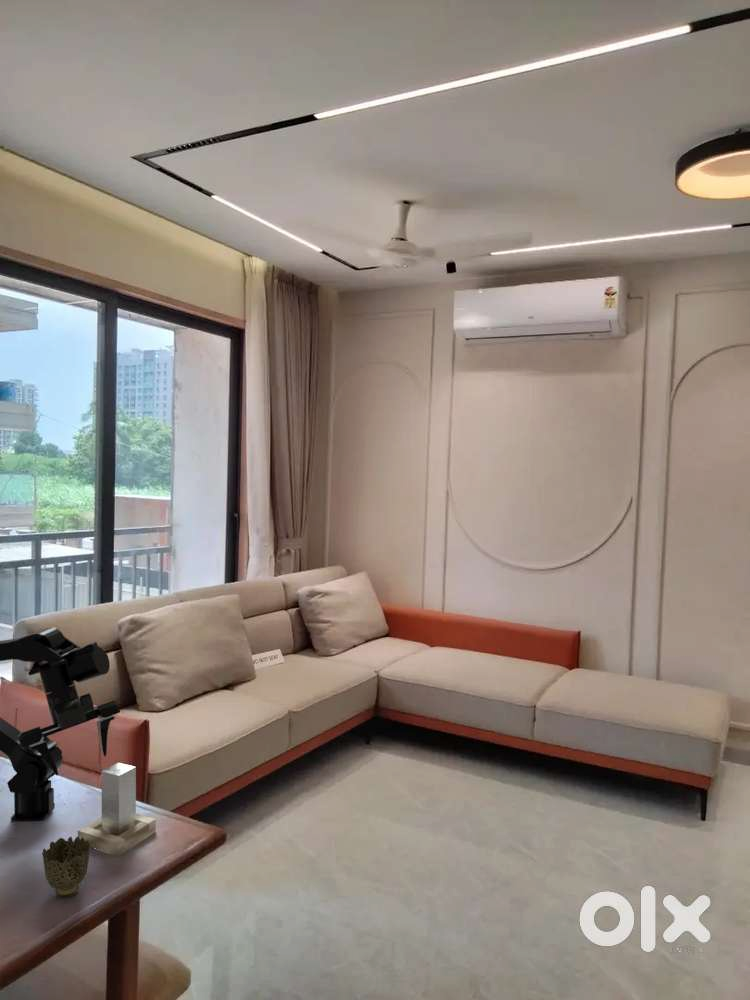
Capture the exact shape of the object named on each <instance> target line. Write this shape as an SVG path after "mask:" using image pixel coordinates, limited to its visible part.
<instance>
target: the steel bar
mask: <svg viewBox="0 0 750 1000" xmlns="http://www.w3.org/2000/svg"><path fill="white" fill-rule="evenodd" d="M100 772H101V817H102V832H105V833H108V834H112V835H115V836H119V835H121V834H122V833H124V832H125V831H127V830H129V829H130V828H132V827H134V826H135V825H136V814H137V810H136V808H137V807H136V806H137V781H136V780H137V774H136V773H137V767H136V766H133V765H131V764H130V765H129V764H125V763H121V762H117V763H115V764H113V765H111V766H108V767H107V768H104V769H103V770H101V771H100Z"/></svg>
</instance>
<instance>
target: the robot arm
mask: <svg viewBox="0 0 750 1000" xmlns="http://www.w3.org/2000/svg"><path fill="white" fill-rule="evenodd" d="M10 660H13V661H14V660H15V661H16V660H17V661H21V662H24V663H33V664H32V667H31V668H30V670H29V671H28V676H33V675H37V674H39V677H40V680H41V682H42V683H41V684H42V687H43V691H44V694H45V697H46V701H47V706H48V708H49V712H50V713H49V714H50V716H51V720H52V723H53V724H51V725H48V726H46V727H42V728H41V727H40V726H39V725H38V726H36V727H33V728H30V729H28V730H24V731H22V732H21V730H19V729H17V727H15V726H13V725H12V724H11V723H9V722H8V721H6V720H5V719H3V718H2V717H1V716H0V752H2V754H4V755H6V756H7V757H8V758H9V761H10V763H11V767H12V768H13V771H14V772H15V774H14V775H13V776H12V777H11V778H10V779H9V781H7V782H6V783H7V787H8V788H9V789H8V790H9V792H10V793H13V794H14V795H13V796H14V797H13V798H14V799H13V800H14V801H13V803H14V806H13V807H14V809H13V810H14V814H13V815H12V816H10V821H43V820H44V819H45V818H46V817H47V816H48V815H49V813H50V812H51V811H52V810H53V809H54V807H55V806H56V805H55V804H56V803H55V796H54V795H55V789H54V787H52V779H51V778H52V777H54V776H58V775H59V771H58V770H59V768H60V767H61V765H62V764H63V751H62V750H61V749H60V747H58V746H57V745H58V744H59V743H58V742H56V741H54V740H51V739H50V738H49V737H48V736H52V735H54V734H57V733H59V732H62V731H64V730H67V729H71V728H73V727H76V726H79V725H82V724H83V723H84V724H85V723H88V722H90V721H93V720H95V719H97V721H96V727H97V733H98V738H99V743H100V744H99V746H100V750H101V752H102V755H103V757H107V747H108V732H109V727H110V724H111V721H113V720H115V719H116V718H115V716H114V715H117V714H120V713H121V709H120V706H119V703H118V701H116V700H115V699H113V700H108V701H106V702H103V703H100V704H98V705H94V701H93V698H92V694H91V693H90V692H89V693H86V694H83V695H80V696H79V694H78V690H77V686H76V683H83V682H86V681H90V680H91V679H96V678H98V677H102V676H104V675H106V674H108V673H109V672H110V671H109V670H110V667H111V666H110V658H109V655H108V653H106V652H105V650H104V649H103V648H102V647H100V646H99V645H98V642H96V641H93V642H90V643H89V644H87V645H85V646H82V647H80V646H79V645H77V644H76V643H74V642H73V641H72V640H70V639H69V638H67V637H66V636H65V635H64V634H63V633H62V631H61V630H59V628H58V627H55V626H51V627H46V628H43V629H41V630H38V631H35V632H32V633H29V634H26V635H23V636H20V637H17V638H10V639H6V640H5V639H4V640H3V639H2V640H0V662H3V661H10ZM63 660H64V661H63ZM75 682H76V683H75ZM50 779H51V780H50Z"/></svg>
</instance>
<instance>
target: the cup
mask: <svg viewBox="0 0 750 1000" xmlns="http://www.w3.org/2000/svg"><path fill="white" fill-rule="evenodd" d="M90 845H91V842H90V843H89V841H88V840H87V841H86V843H85V840H84V838H83V837H82V838H81V840H80V838H79V837H78V836H76V837H75V838H74V840H73V837H72V836H69V837H68V838H67V840H66V839H65V838H63V837H60V838H58V839H57V840H56V841H50V843H49V848H47V849H46V848H42V852H41V855H42V860H43V861H42V862H43V867H44V874H45V878H46V881H47V883H48V884H49V886H50V887H51V888H52V889H55V891H54V892H55V895H56V896H57V897H58V898H61V899H62V898H64V899H65V898H67V899H68V898H70V897H73V896H74V895H76V893H78V891H79V888H80V884H81V883H82V882H83V881H84V879H85V877H86V876H87V872H88V869H89V862H90V861H89V860H90V851H91V848H90Z"/></svg>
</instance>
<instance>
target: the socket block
mask: <svg viewBox="0 0 750 1000" xmlns="http://www.w3.org/2000/svg"><path fill="white" fill-rule="evenodd" d="M156 821H157V820H156V818H154V817H153V818H152V817H149V816H145V815H143V814H140V813H139V814H138V813H136V825H135V826H134V827H132V828H130V829H129V830H127V831H125V832H124V833H122V834H121V835H119V836H115V835H112V834H108V833H105V832H102V816H100V817H99V818H97V819H96V820H94V821H92V822H90V823H89V824H87V825H85V826H84V827H82V828H80V829H78V830H77V837H79V838H80V840H81V838H82V837H83V838H84V840H85V843H86V841H87V840H88V841H89V843H90V842H91V845H90V847H93V848H96V849H99V850H102V851H104V852H103V853H105V852H108V853H110V854H109V855H111V854H113V855H112V856H114V855H115V857H117V856H118V857H119V856H121V855H123V854H124V853H126V852H127V851H128V849H129V850H130V849H132V848H133V847H135V846H137V844H139V843H141V842H142V841H144V840H145V839H147V838H149V837H151V836H152V835H153V834H155V833H156V832H157V831H156V830H157V824H156V823H157V822H156ZM93 848H92V849H93ZM96 849H95V850H96ZM99 850H98V851H99ZM102 851H101V852H102ZM125 851H126V852H125ZM108 853H107V854H108ZM120 854H121V855H120Z"/></svg>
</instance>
